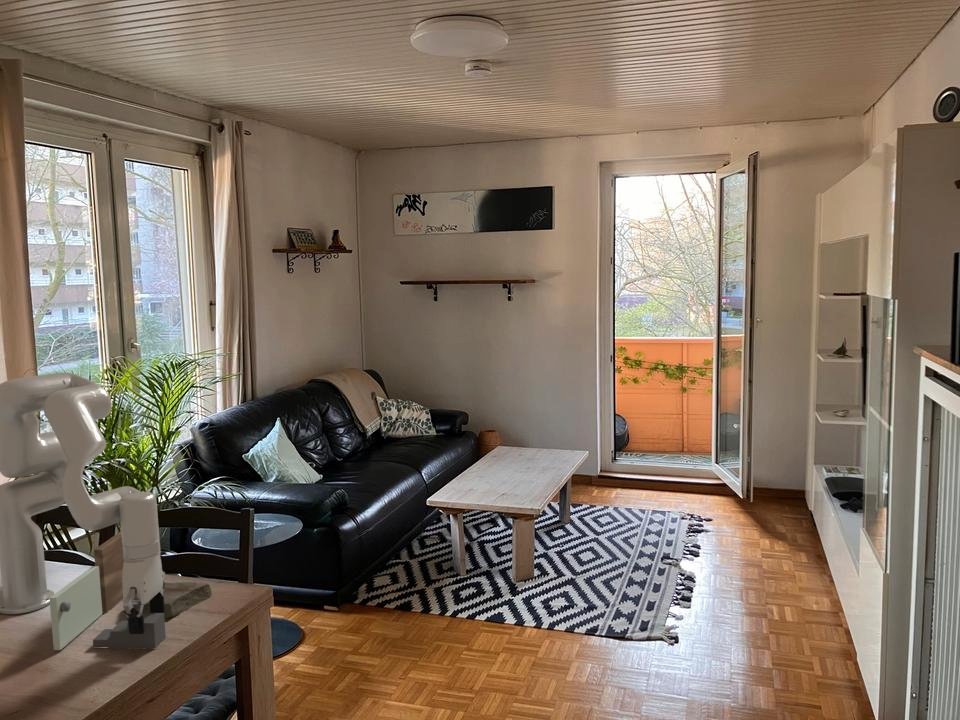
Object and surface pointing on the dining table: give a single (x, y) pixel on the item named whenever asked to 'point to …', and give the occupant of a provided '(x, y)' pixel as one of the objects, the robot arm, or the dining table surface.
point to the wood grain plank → (110, 571)
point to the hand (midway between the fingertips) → (147, 623)
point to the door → (75, 607)
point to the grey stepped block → (124, 639)
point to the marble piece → (180, 597)
